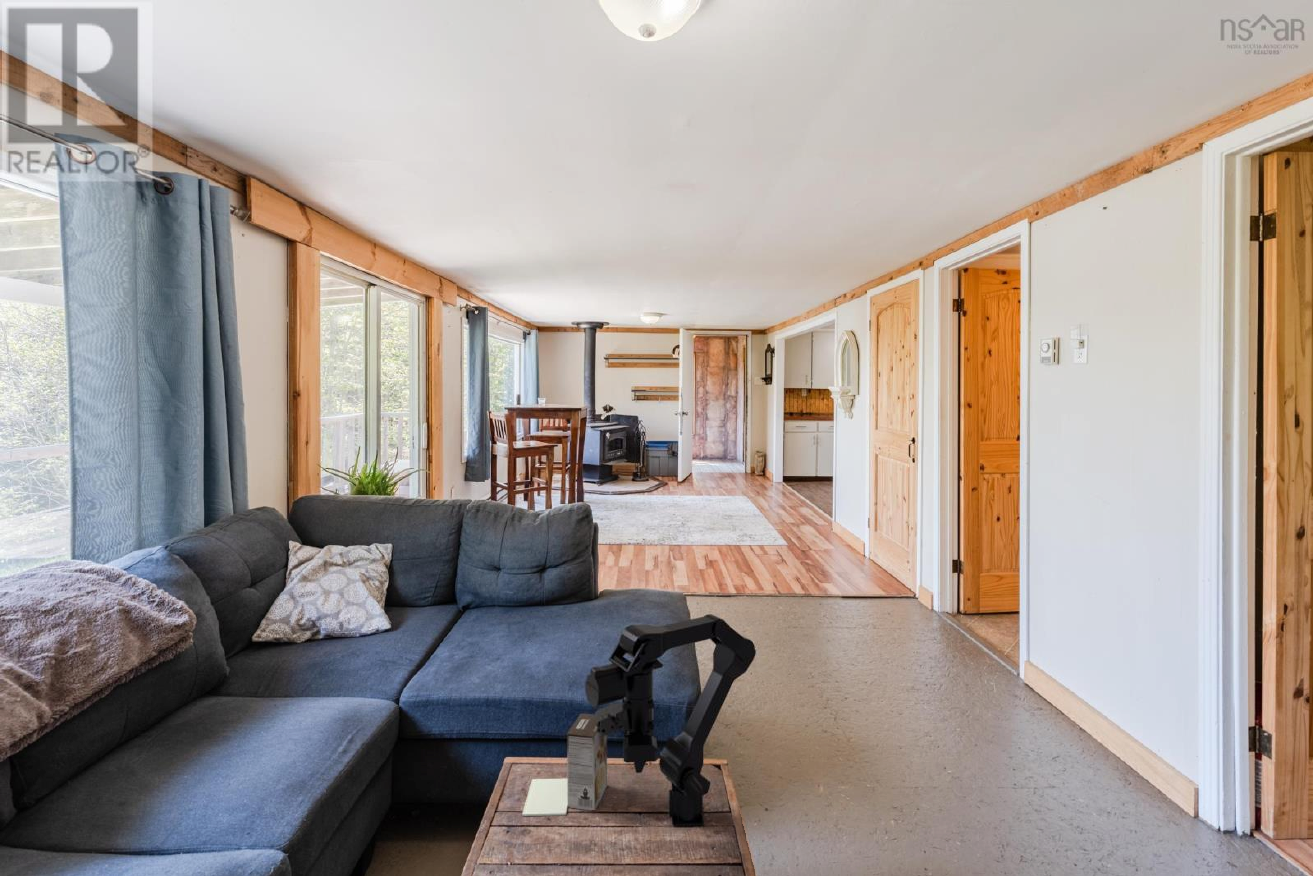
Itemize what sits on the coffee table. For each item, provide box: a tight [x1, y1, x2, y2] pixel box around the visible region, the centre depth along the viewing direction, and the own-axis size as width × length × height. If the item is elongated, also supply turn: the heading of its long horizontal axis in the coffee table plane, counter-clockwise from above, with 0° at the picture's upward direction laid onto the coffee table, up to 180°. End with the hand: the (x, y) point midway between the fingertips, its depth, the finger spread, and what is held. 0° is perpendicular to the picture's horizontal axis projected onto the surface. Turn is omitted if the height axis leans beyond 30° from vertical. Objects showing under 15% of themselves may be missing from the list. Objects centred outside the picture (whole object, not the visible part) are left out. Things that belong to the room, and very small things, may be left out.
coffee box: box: [566, 713, 608, 811], centre depth 127 cm, size 9×6×16 cm
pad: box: [521, 778, 568, 817], centre depth 127 cm, size 9×12×1 cm
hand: (638, 771), depth 115 cm, fingers closed
